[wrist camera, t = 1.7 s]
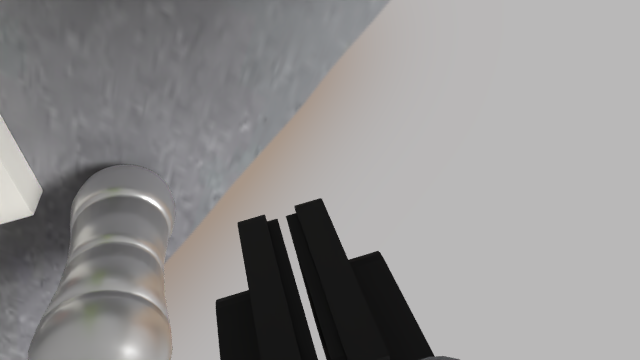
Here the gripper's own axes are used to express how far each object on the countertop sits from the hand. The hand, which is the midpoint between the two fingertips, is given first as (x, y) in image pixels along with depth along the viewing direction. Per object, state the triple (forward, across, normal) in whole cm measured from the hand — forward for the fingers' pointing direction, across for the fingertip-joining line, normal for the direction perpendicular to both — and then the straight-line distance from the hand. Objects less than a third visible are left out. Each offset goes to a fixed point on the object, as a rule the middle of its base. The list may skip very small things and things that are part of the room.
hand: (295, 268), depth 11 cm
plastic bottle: (+27, +10, +12) cm, 31 cm away
